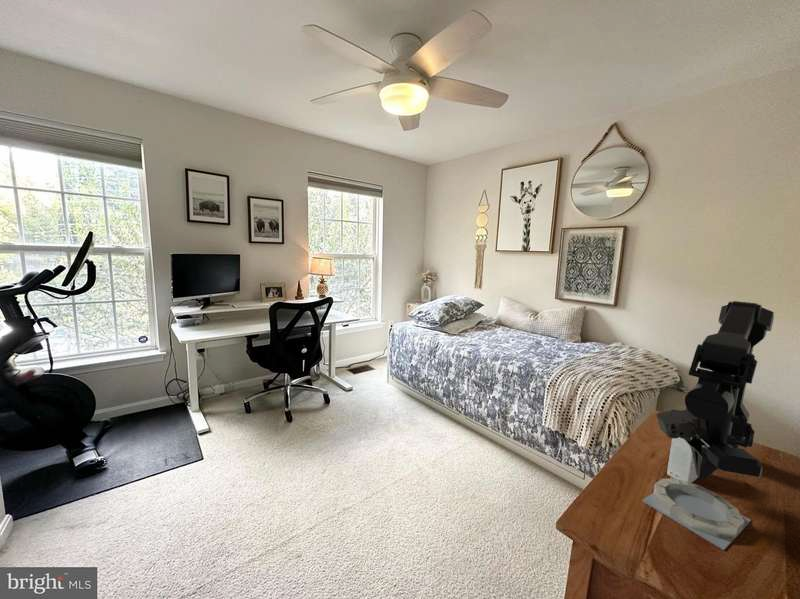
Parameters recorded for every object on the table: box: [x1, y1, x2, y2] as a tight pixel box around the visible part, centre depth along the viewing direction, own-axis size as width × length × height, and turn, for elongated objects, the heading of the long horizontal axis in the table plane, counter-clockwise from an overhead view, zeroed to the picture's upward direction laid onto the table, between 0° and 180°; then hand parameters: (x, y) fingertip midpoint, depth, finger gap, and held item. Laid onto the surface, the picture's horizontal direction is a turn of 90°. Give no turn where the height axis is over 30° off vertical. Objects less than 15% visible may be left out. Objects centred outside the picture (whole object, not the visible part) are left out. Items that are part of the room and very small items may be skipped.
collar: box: [653, 478, 744, 539], centre depth 67 cm, size 13×13×2 cm
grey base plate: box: [641, 491, 751, 551], centre depth 67 cm, size 14×13×1 cm
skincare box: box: [666, 437, 699, 483], centre depth 77 cm, size 6×4×12 cm
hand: (700, 477), depth 66 cm, fingers closed
